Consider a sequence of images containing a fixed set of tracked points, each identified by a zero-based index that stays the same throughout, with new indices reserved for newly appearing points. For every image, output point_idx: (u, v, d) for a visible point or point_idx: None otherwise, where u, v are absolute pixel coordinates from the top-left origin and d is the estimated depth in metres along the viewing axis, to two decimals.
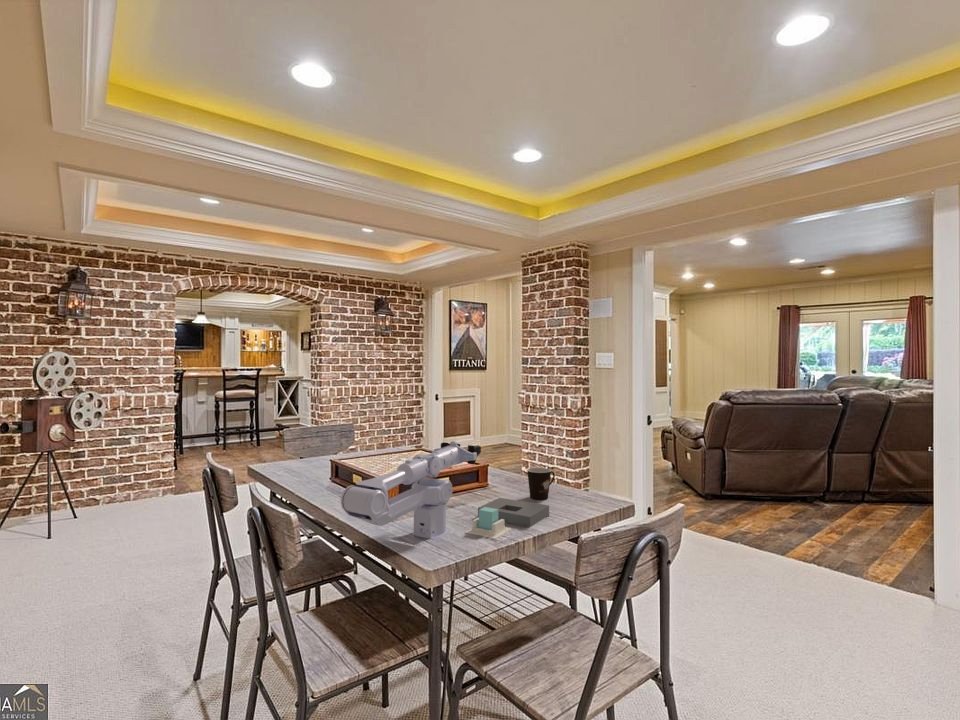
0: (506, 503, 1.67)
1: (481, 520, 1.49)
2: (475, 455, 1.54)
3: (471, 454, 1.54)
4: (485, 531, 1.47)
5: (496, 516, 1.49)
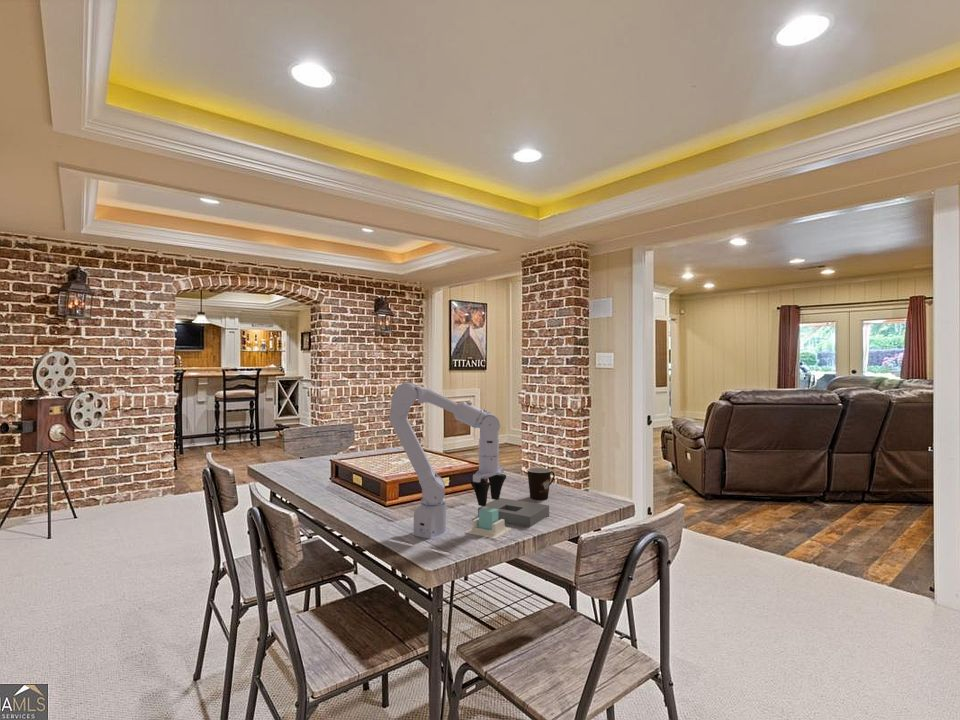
0: (506, 503, 1.67)
1: (481, 520, 1.49)
2: (476, 479, 1.43)
3: None
4: (485, 531, 1.47)
5: (496, 516, 1.49)
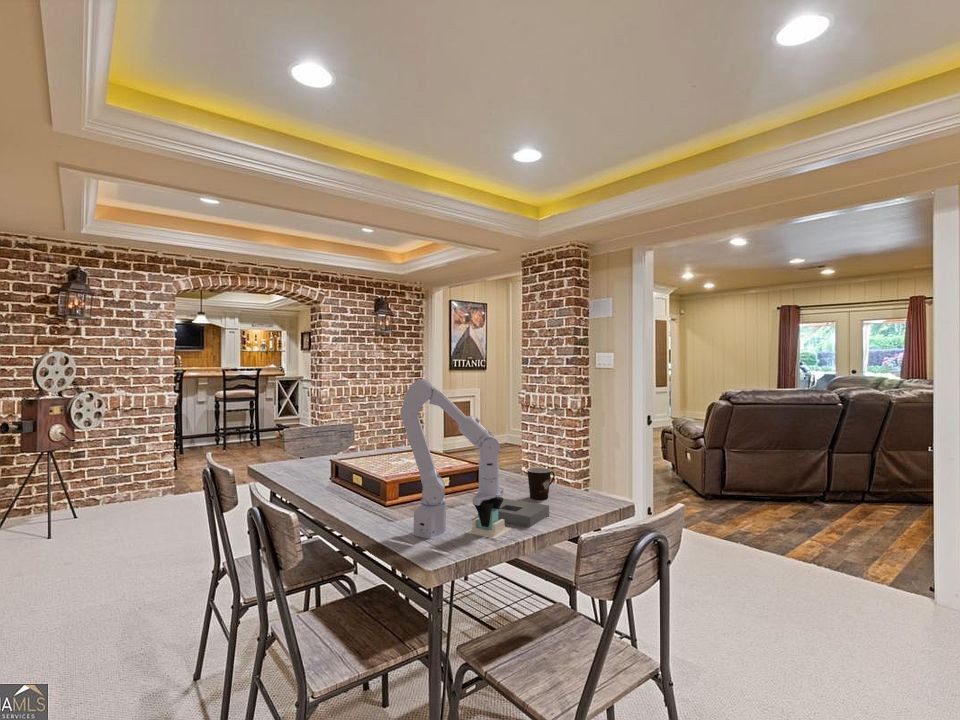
0: (506, 503, 1.67)
1: None
2: (476, 502, 1.43)
3: None
4: (485, 531, 1.47)
5: (496, 516, 1.49)
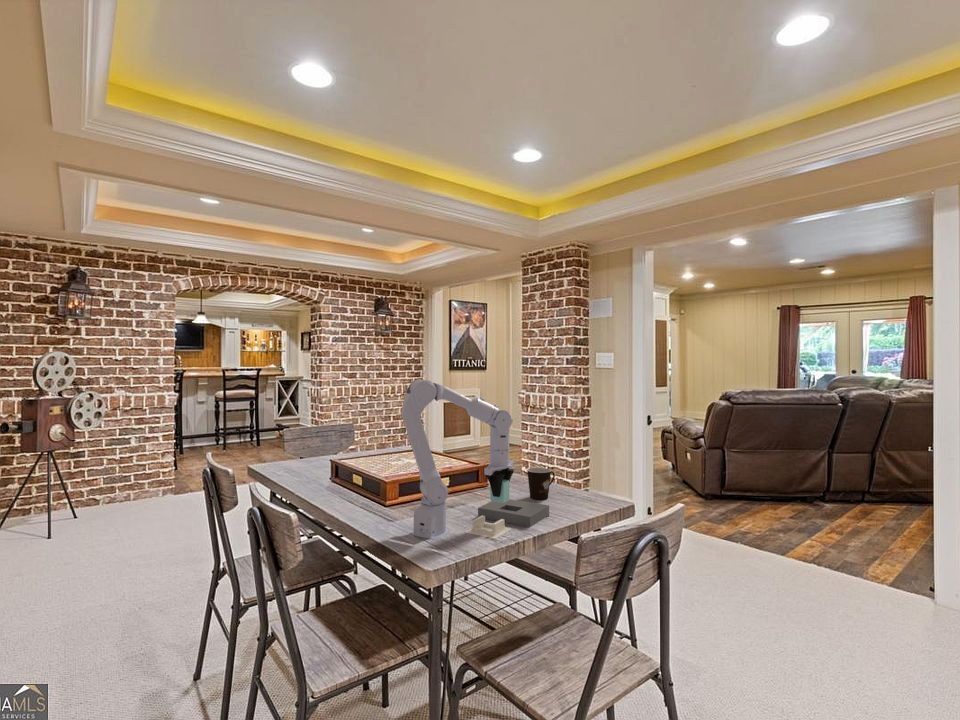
0: (506, 503, 1.67)
1: None
2: (488, 472, 1.49)
3: None
4: (485, 531, 1.47)
5: (507, 487, 1.54)
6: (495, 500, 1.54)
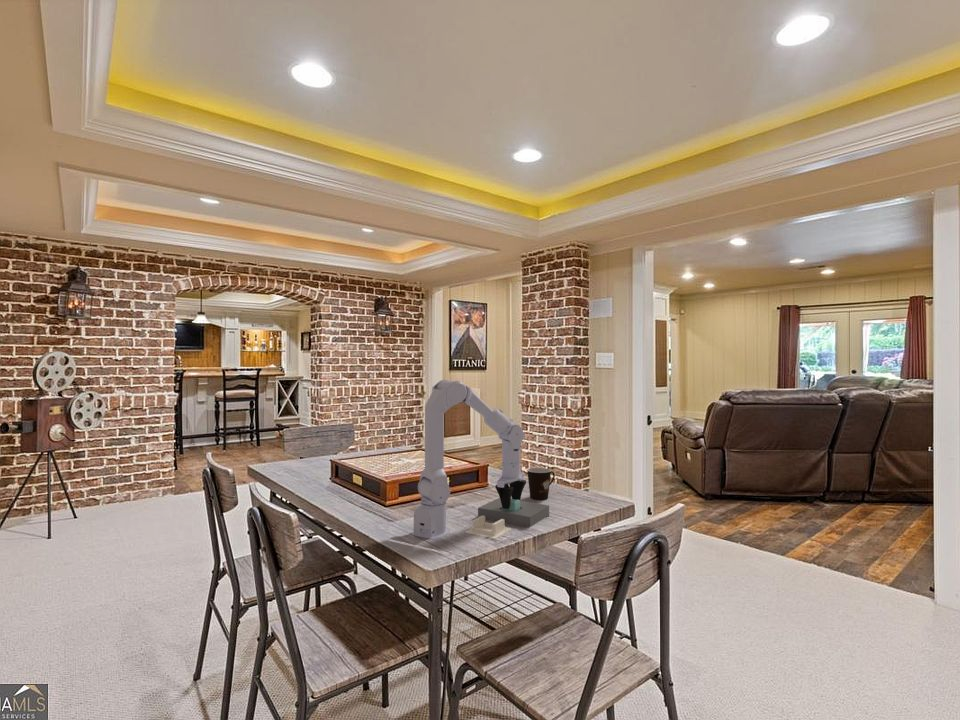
0: None
1: None
2: (500, 484, 1.55)
3: None
4: (485, 531, 1.47)
5: (518, 506, 1.61)
6: None
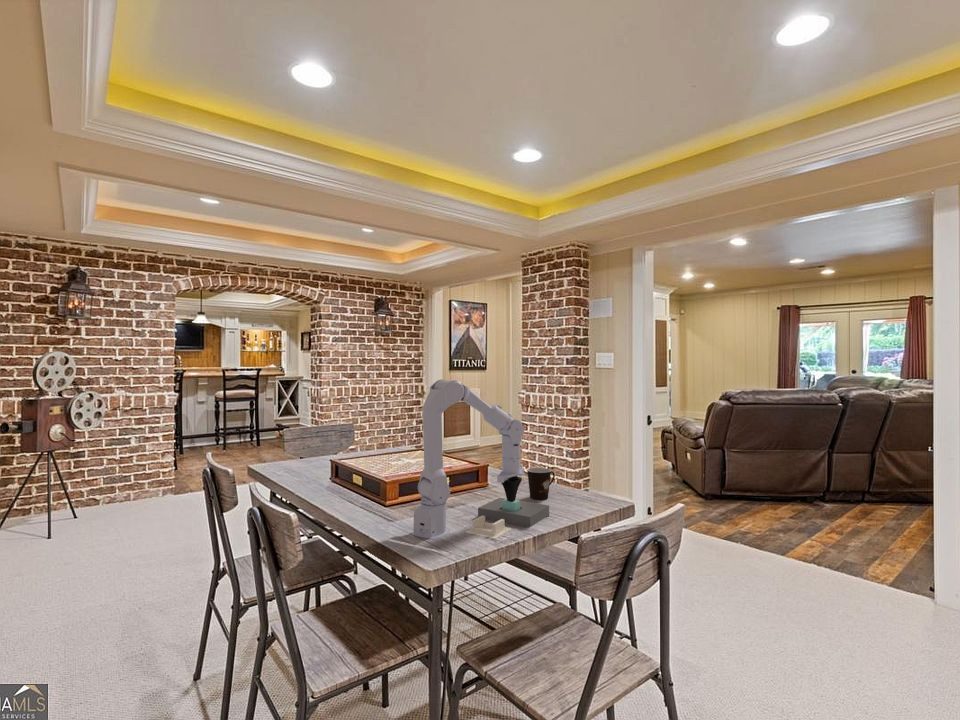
0: None
1: None
2: (500, 479, 1.55)
3: None
4: (485, 531, 1.47)
5: (518, 507, 1.61)
6: None
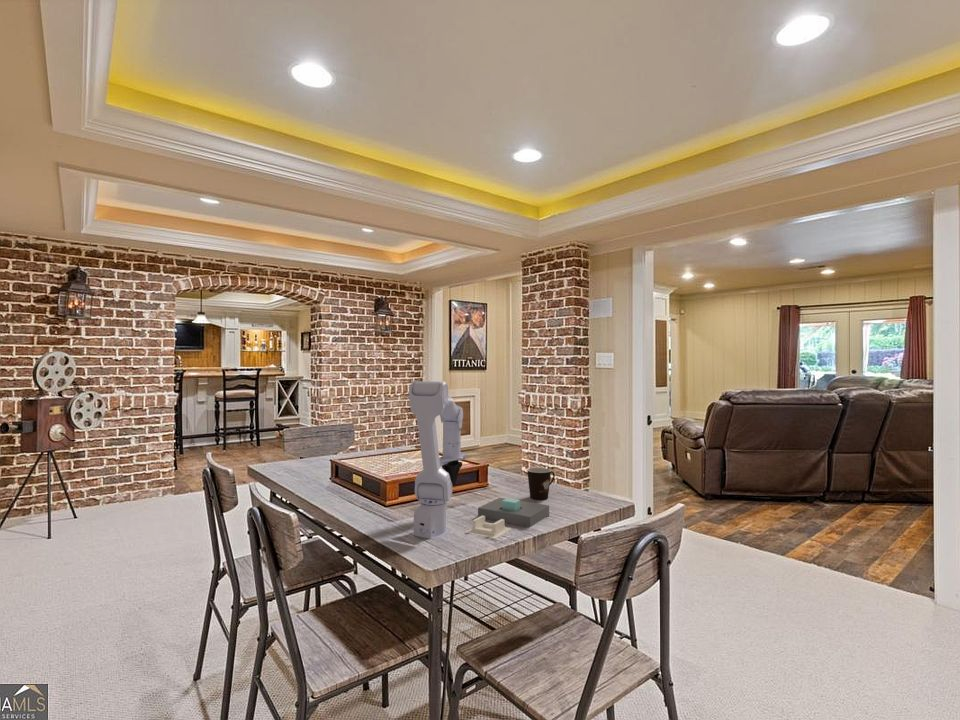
0: None
1: None
2: None
3: None
4: (485, 531, 1.47)
5: (518, 506, 1.61)
6: None
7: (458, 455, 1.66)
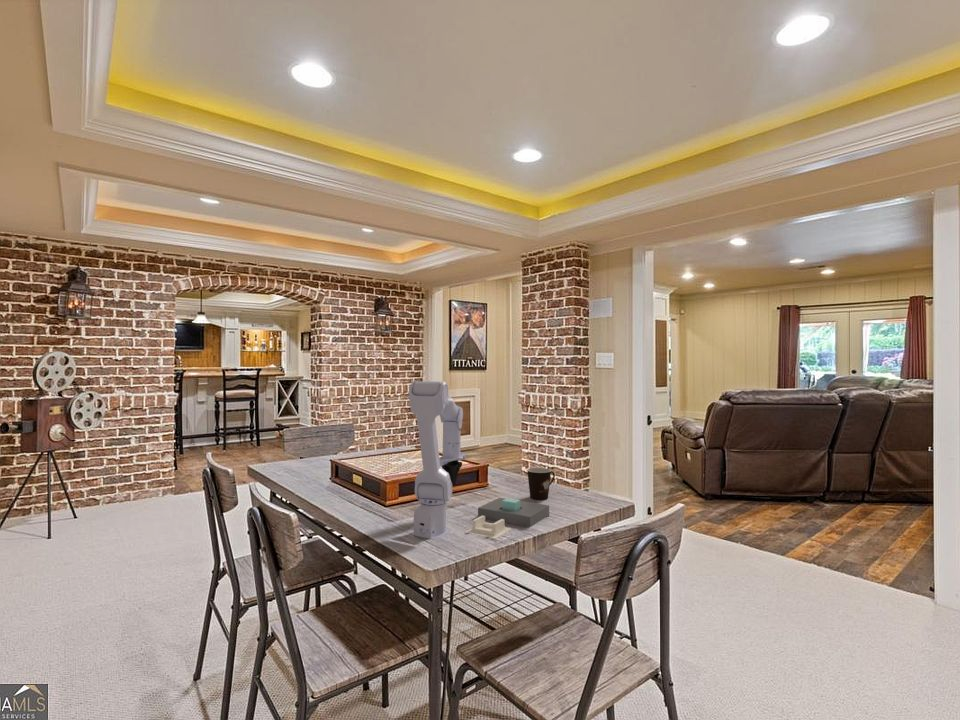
0: None
1: None
2: None
3: None
4: (485, 531, 1.47)
5: (518, 506, 1.61)
6: None
7: (458, 455, 1.66)
